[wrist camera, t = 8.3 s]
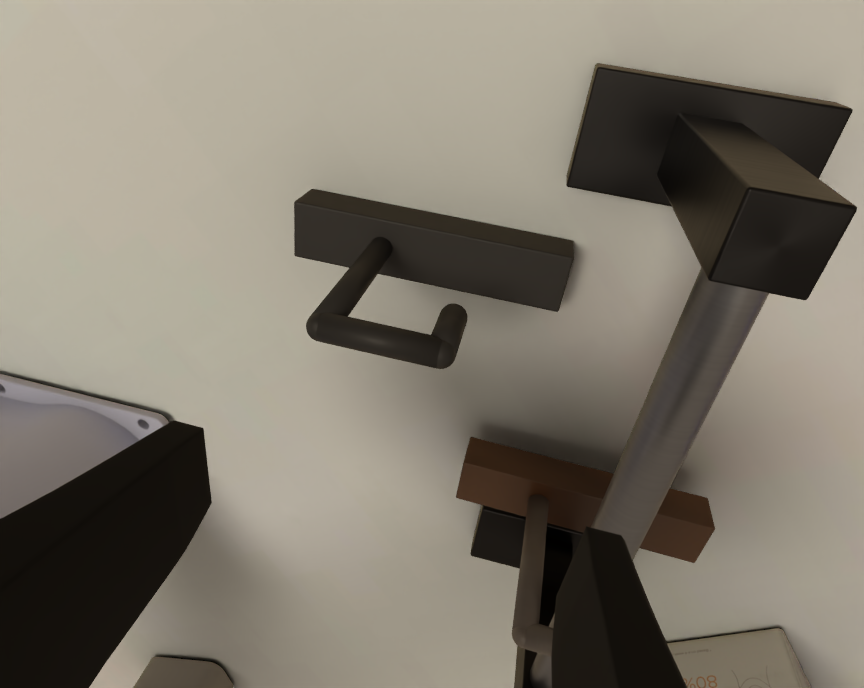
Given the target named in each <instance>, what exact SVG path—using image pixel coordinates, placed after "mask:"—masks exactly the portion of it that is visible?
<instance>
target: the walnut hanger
mask: <svg viewBox="0 0 864 688" xmlns="http://www.w3.org/2000/svg"><path fill="white" fill-rule="evenodd" d="M612 477H613V473H609V472H605V471H601V470H597V469H593V468H590V467H586V466H582V465H578V464H574V463H570V462H566V461H563V460H559V459H555V458H551V457H547V456H543V455H539V454H536V453H532V452H528V451H524V450H520V449H516V448H512V447H508V446H505V445H501V444H497V443H493V442H489V441H485V440H481V439H478V438H474V437H471V438H470V441H469V444H468V448H467V452H466V455H465V459H464V463H463V467H462V472H461V476H460V481H459V486H458V490H457V495H456V498H459V499H463V500H466V501H470V502H474V503H477V504H481V505H484V506H488V507H492V508H495V509H499V510H503V511H506V512H510V513H514V514H517V515H521V516H525V517H526V522H525V530H524V538H523V546H522V555H521V563H520V571H519V579H518V587H517V596H516V604H515V612H514V620H513V628H512V637H513V640H514V642H515V643H516V644H517V645H518V646H519V647H521V648H524V649H527V650H530V651H533V652H537V653H540V654H543V655H547V656H550V657H551V652H552V640H553V628H551V627H548V626H545V625H541V624H539V618H540V605H541V593H542V580H543V568H544V555H545V543H546V531H547V523H550V524H554V525H557V526H561V527H565V528H568V529H572V530H576V531H579V532H583V533H584V530H585V528H586V526H587V527H591V526H592V524H593V521H594V519H595V517H596V514H597V512H598V510H599V507H600V505H601V503H602V500H603V498H604V496H605V493H606V491H607V489H608V486H609V484H610V481H611V479H612ZM714 530H715V527H714V522H713V518H712V514H711V510H710V506H709V501H708V498H706V497H702V496H698V495H694V494H690V493H686V492H682V491H678V490H675V489H671V488H669V490H668V492H667V494H666V496H665V498H664V500H663V502H662V504H661V506H660V508H659V510H658V512H657V514H656V516H655V518H654V520H653V522H652V524H651V526H650V528H649V530H648V532H647V534H646V536H645V538H644V540H643V541H642V543H641V545H640V547H639V548H641V549H645V550H649V551H652V552H656V553H660V554H663V555H667V556H671V557H674V558H678V559H682V560H685V561H689V562H693V563H695V561H696V560H697V558H698V556H699V555H700V553H701V551H702V550H703V548H704V546H705V545H706V543H707V541H708V540H709V538H710V536H711V535H712V533H713V532H714Z"/></svg>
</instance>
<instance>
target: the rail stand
mask: <svg viewBox="0 0 864 688" xmlns="http://www.w3.org/2000/svg"><path fill="white" fill-rule="evenodd" d="M851 113H852V109H851V108H849V107H846V106H844V105H841V104H839V103H836V102H830V101H824V100H818V99H812V98H806V97H799V96H793V95H787V94H781V93H775V92H769V91H763V90H757V89H751V88H745V87H739V86H733V85H727V84H721V83H715V82H709V81H703V80H697V79H691V78H685V77H679V76H672V75H666V74H660V73H654V72H648V71H642V70H636V69H630V68H624V67H618V66H612V65H606V64H600V63H597V64H596V65H595V68H594V72H593V76H592V80H591V84H590V88H589V92H588V95H587V99H586V103H585V107H584V111H583V115H582V119H581V123H580V126H579V130H578V134H577V138H576V142H575V146H574V150H573V153H572V157H571V161H570V165H569V169H568V173H567V186H568V187H572V188H577V189H583V190H588V191H593V192H598V193H604V194H609V195H614V196H620V197H625V198H630V199H636V200H641V201H646V202H651V203H657V204H662V205H667V206H672V207H673V209H674V211H675V213H676V216H677V218H678V220H679V222H680V224H681V226H682V228H683V230H684V232H685V234H686V236H687V238H688V240H689V242H690V244H691V246H692V248H693V250H694V253H695V255H696V257H697V259H698V261H699V263H700V265H701V270H700V272H699V274H698V277H697V279H696V281H695V284H694V286H693V288H692V291H691V293H690V295H689V298H688V300H687V303H686V305H685V307H684V310H683V312H682V314H681V317H680V319H679V321H678V324H677V326H676V328H675V331H674V333H673V335H672V338H671V340H670V343H669V345H668V347H667V350H666V352H665V354H664V357H663V359H662V361H661V364H660V366H659V368H658V371H657V373H656V376H655V378H654V380H653V383H652V385H651V387H650V390H649V392H648V394H647V397H646V399H645V401H644V404H643V406H642V408H641V411H640V413H639V416H638V418H637V420H636V423H635V425H634V427H633V430H632V432H631V434H630V437H629V439H628V441H627V444H626V446H625V448H624V451H623V453H622V456H621V458H620V460H619V463H618V465H617V467H616V470H615V472H614V474H613V477H612V479H611V481H610V484H609V486H608V489H607V491H606V493H605V496H604V498H603V500H602V503H601V505H600V507H599V510H598V512H597V514H596V517H595V519H594V521H593V524H592V526H591V528H595V529H599V530H603V531H607V532H610V533H614V534H618V535H621V536H622V537H623V539H624V540H625V542H626V544H627V547H628V550H629V553H630V555H631V558H632V561H633V559H634V557H635V555H636V553H637V551H638V549H639V547H640V545H641V543H642V541H643V540H644V538H645V536H646V534H647V532H648V530H649V528H650V526H651V524H652V522H653V520H654V518H655V516H656V514H657V512H658V510H659V508H660V506H661V504H662V502H663V500H664V498H665V496H666V494H667V492H668V490H669V488H670V487H671V485H672V483H673V481H674V479H675V477H676V475H677V473H678V471H679V469H680V467H681V465H682V463H683V461H684V459H685V457H686V455H687V453H688V451H689V449H690V447H691V445H692V443H693V441H694V439H695V437H696V436H697V434H698V432H699V430H700V428H701V426H702V424H703V422H704V420H705V418H706V416H707V414H708V412H709V410H710V408H711V406H712V404H713V402H714V400H715V398H716V396H717V394H718V392H719V390H720V388H721V386H722V385H723V383H724V381H725V379H726V377H727V375H728V373H729V371H730V369H731V367H732V365H733V363H734V361H735V359H736V357H737V355H738V353H739V351H740V349H741V347H742V345H743V343H744V341H745V339H746V337H747V335H748V334H749V332H750V330H751V328H752V326H753V324H754V322H755V320H756V318H757V316H758V314H759V312H760V310H761V308H762V306H763V304H764V302H765V300H766V298H767V296H768V294H769V293H771V294H776V295H781V296H786V297H791V298H796V299H801V300H806V299H808V297H809V295H810V294H811V292H812V290H813V288H814V286H815V285H816V283H817V281H818V279H819V277H820V276H821V274H822V272H823V270H824V268H825V267H826V265H827V263H828V261H829V259H830V258H831V256H832V254H833V252H834V250H835V249H836V247H837V245H838V243H839V241H840V240H841V238H842V236H843V234H844V232H845V231H846V229H847V227H848V225H849V223H850V222H851V220H852V218H853V216H854V214H855V212H856V210H857V207H856V206H855V205H853V204H852V203H851V202H849V201H848V200H847V199H845V198H844V197H842V196H841V195H840V194H838V193H837V192H836V191H834V190H833V189H832V188H830V187H829V186H827V185H826V184H825V183H823V182H822V181H821V180H819V177H820V175H821V173H822V171H823V169H824V167H825V165H826V163H827V161H828V159H829V157H830V155H831V153H832V151H833V149H834V147H835V145H836V143H837V141H838V139H839V137H840V135H841V133H842V131H843V129H844V127H845V125H846V123H847V121H848V119H849V117H850V115H851ZM525 522H526V517H525V516H521V515H517V514H514V513H510V512H506V511H503V510H499V509H495V508H492V507H488V506H484V505H482V506H481V510H480V514H479V517H478V521H477V525H476V529H475V533H474V537H473V542H472V547H471V556H474V557H478V558H482V559H485V560H489V561H493V562H497V563H501V564H505V565H508V566H512V567H516V568H520V563H521V555H522V546H523V538H524V530H525ZM582 535H583V532H579V531H576V530H572V529H568V528H565V527H561V526H557V525H554V524H550V523H547V531H546V543H545V555H544V568H543V580H542V593H541V605H540V618H539V624H541V625H545V626H548V627H551V628H553V627H554V616H555V605H556V596H557V593H558V591H559V589H560V586H561V584H562V582H563V579H564V577H565V575H566V572H567V570H568V568H569V565H570V563H571V561H572V558H573V556H574V554H575V551H576V549H577V547H578V544H579V542H580V540H581V537H582ZM514 688H552V672H551V657H550V656H547V655H543V654H540V653H537V652H533V651H530V650H527V649H524V648H521V647H519V646H518V647H517V659H516V671H515V683H514Z"/></svg>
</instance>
